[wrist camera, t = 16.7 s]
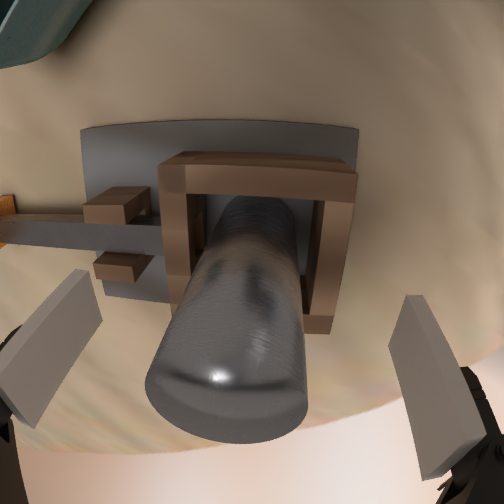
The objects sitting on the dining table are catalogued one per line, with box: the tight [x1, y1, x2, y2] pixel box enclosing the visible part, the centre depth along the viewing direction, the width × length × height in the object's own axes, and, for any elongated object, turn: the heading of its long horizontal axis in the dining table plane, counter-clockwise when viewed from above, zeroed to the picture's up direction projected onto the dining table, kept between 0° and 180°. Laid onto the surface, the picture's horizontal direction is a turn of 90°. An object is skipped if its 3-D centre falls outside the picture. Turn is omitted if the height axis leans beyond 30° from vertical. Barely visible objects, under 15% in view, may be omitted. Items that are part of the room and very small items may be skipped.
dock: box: [80, 119, 359, 334], centre depth 20 cm, size 14×19×6 cm
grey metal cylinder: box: [145, 195, 308, 444], centre depth 15 cm, size 5×5×14 cm
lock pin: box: [0, 195, 164, 256], centre depth 19 cm, size 4×20×9 cm, turn 88°
